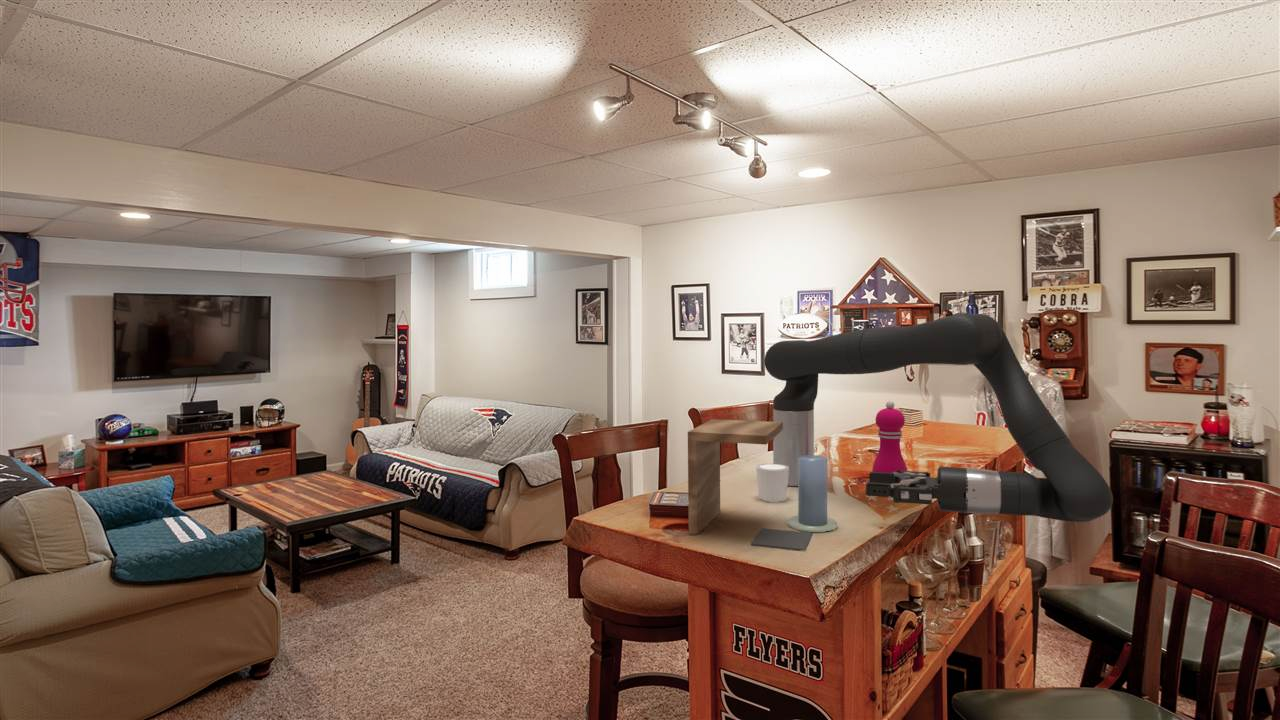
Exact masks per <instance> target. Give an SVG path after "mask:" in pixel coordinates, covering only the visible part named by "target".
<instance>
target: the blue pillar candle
mask: <svg viewBox="0 0 1280 720" xmlns="http://www.w3.org/2000/svg"><path fill="white" fill-rule="evenodd" d="M797 487H798V488H797V489H798V491H797V494H798V495H797V496H798V497H797V500H798V503H797V511H798V513H797V514H798V515H797V516H798V522H799V523H800V524H803V525H807V526H824V525H826V524H827V517H828V458H827V456H824V455H823V456H822V455H816V454H814V455H804V456H799V457H798V486H797Z"/></svg>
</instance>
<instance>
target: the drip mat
mask: <svg viewBox="0 0 1280 720" xmlns="http://www.w3.org/2000/svg"><path fill="white" fill-rule="evenodd" d="M811 536H813V533H810V532H803V531H798V530H786V529H776V528H765V527H761V528H760V530H759V531H758V533H757V534H756V536H755V537H754V538H753V540H752V541H751V543H750V545H751V546H755V547H765V548H773V549H781V550H782V549H783V550H791V549H792V550H791V551H799V550H805V549H806V550H807V548H808V546H809V543H810V541H809V540H811V539H812V537H811ZM810 538H811V539H810ZM808 542H809V543H808ZM807 545H808V546H807ZM806 547H807V548H806ZM806 550H805V551H806Z"/></svg>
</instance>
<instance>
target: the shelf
mask: <svg viewBox="0 0 1280 720" xmlns="http://www.w3.org/2000/svg"><path fill="white" fill-rule="evenodd" d="M782 430H783V422H774V421H763V420H744V419H743V420H738V419H735V420H734V419H714V418H711V419H710V420H708V421H706V422H704V423H702V424H700V425H698V426H696V427H695V428H692V429H691V430H688V431H687V485H688V487H687V488H688V489H687V492H688V494H687V495H688V497H687V499H688V501H687V503H688V504H687V505H688V508H687V509H688V535H691V536H692V535H693V536H697V535H699V533H700V532H701V531H703V529H704V528H705V527H706V526H707V525H709V524H710V522H711V521H712V520H713V519H715V517H716V516H717V515H718V514H720V512H721V447H720V446H721V443H729V444H730V443H733V444H746V445H747V444H750V445H751V444H752V445H765V446H766V445H768V444H769V443H770V442H772V440H774V437H775V436H777V435H778V434H779V433H780V432H781V431H782Z"/></svg>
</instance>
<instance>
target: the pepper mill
mask: <svg viewBox="0 0 1280 720" xmlns="http://www.w3.org/2000/svg"><path fill="white" fill-rule="evenodd" d="M885 407H886V408H883V409H880V410H879V411H878V412H877V413H876V416H875V424H876V426H877V428H878V430H877V433H878V434H877V437H879V449H878V453H877V455H876V457H875V459H874V462H873V465H872V471H871V472H880V473H891V472H895V471H896V470H902V471H908V467H907V464H906V462H905V460H904V457H903V455H902V451H901V443H900V442H901V438H903V435H902V434H903V431H902V428H903V427H904V426H905V424H906V423H905V422H906V421H905V415H904V414H903V412H902V411H901V410H899V409H897V408H895V403H894V401H890V400H888V401H887V402H886V403H885Z"/></svg>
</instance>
